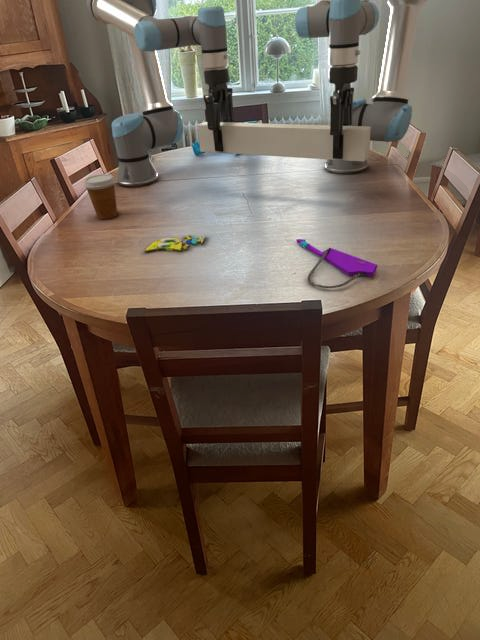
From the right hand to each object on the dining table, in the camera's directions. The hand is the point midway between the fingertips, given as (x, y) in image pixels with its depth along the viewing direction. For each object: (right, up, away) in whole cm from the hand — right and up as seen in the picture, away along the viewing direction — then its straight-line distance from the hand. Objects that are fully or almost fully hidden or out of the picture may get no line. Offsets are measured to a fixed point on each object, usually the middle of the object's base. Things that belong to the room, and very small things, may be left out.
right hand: (340, 155), depth 139 cm
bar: (-17, +3, +8) cm, 19 cm away
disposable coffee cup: (-72, -14, +15) cm, 75 cm away
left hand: (-35, +8, +16) cm, 39 cm away
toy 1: (-46, -27, -8) cm, 54 cm away
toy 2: (-35, +25, +71) cm, 83 cm away
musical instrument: (-9, -35, -26) cm, 45 cm away
